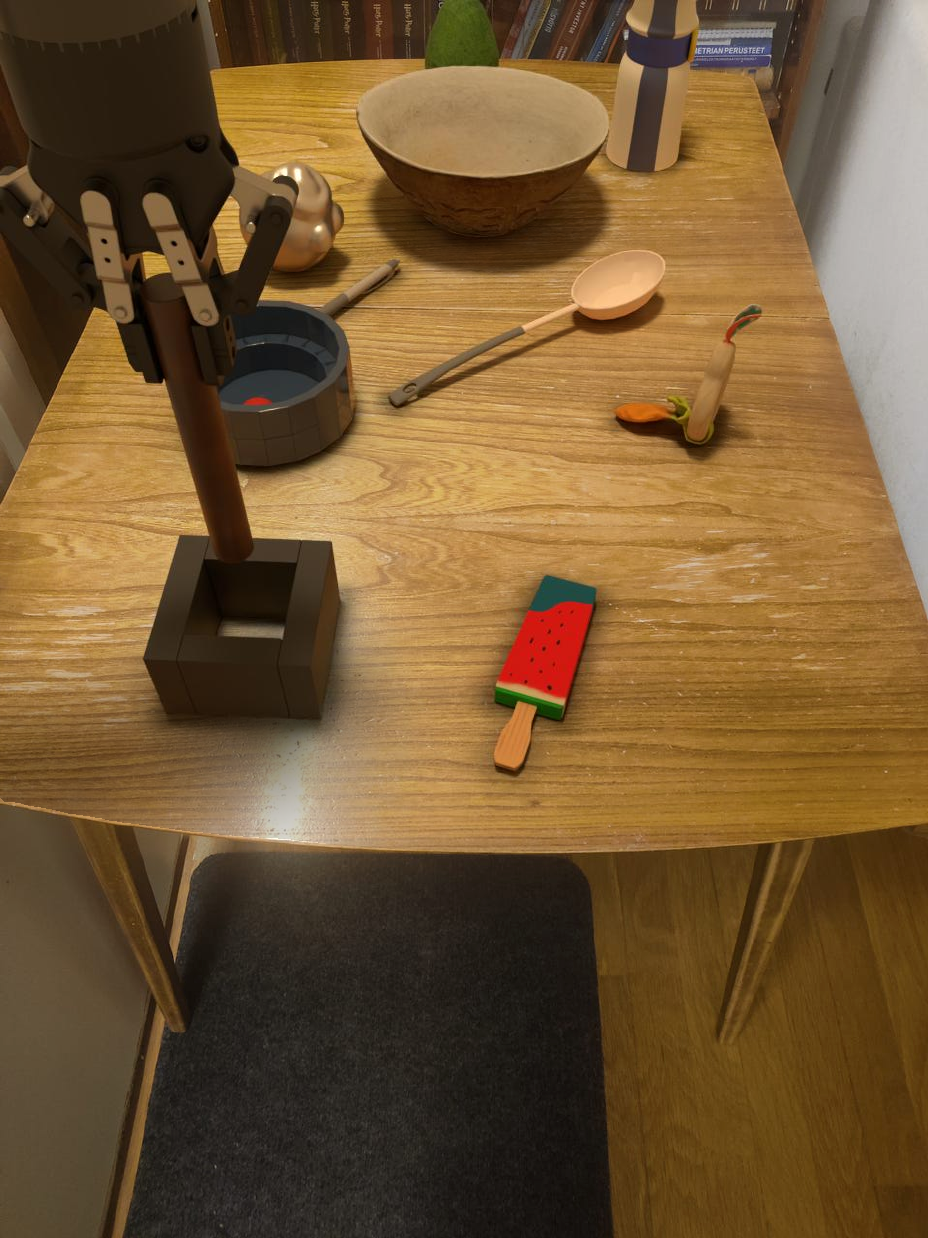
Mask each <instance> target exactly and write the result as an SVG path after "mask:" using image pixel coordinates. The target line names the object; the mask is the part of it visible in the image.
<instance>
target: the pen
mask: <svg viewBox="0 0 928 1238" xmlns="http://www.w3.org/2000/svg"><path fill="white" fill-rule="evenodd" d="M400 263H401V260H400V258H392V259H390V260H388V261H386V262H385V263H384V264H382V265H380V267H378V268H377V269H375V270H373V271H372V272H371V273H369V274H368V275H366V276H365V277H364V278H362V279H361V280H359V281H358V282H357V283H355V284H354V285H352V286H351V287H349V288H348V289H347V290H345V291H343V292H341V293H340V294H338V295H337V296H336V297H333V299H331V300H330V301H329V302H327V303H326V304H324V305H323V306H321V307H320V308H319V309H318V310H319V311H321V312H322V313H324V314H326V315H328V316H330V317H331V316H332V315H333V314H335V313H337V311H339V310H340V309H342V308H344V307H345V306H346V305H348V304H349V303H350V302H351V301H352V300H354V299H355V298H356V297H358V296H359V295H361V294H362V295H365V294H368V293H370V292H372V291H375V290H376V289H377V288H379V287H381V286H383V285H384V284H385V283H386V282H387V281H389V280H390V279H391V278H392V277H394V275H395V272H396V268H398V266H399V264H400ZM378 282H379V283H378ZM377 283H378V284H377ZM374 285H375V286H374ZM373 286H374V287H373Z"/></svg>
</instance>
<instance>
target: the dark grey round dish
mask: <svg viewBox="0 0 928 1238" xmlns="http://www.w3.org/2000/svg"><path fill="white" fill-rule="evenodd" d="M230 316H231V320H232V325H233V330H234V335H235V340H236V344H237V349H238V350H237V353H236V357H235V360H234V364H233V367H232V371H231V374H230V376H226V375H225V377H224V380H223V384H222V386H217V391H218V395H219V399H220V403H221V407H222V412H223V416H224V420H225V424H226V429H227V433H228V437H229V441H230V445H231V450H232V454H233V458H234V462H235V465H240V466H257V467H258V466H260V467H271V466H277V465H283V464H288V463H294V462H299V461H301V460H303V459H306V458H308V457H310V456H313V455H315V454H317V453H320V452H322V451H323V450H324V449H326V448H327V447H328V446H330V445H331V444H332V443H334V442H335V441H336V440H338V439H339V438H340V437H341V436H342V435H343V433H344V432H345V430H346V429H347V427H348V426H349V424H350V423H351V421H352V419H353V416H354V410H355V404H356V396H355V388H354V377H353V376H354V375H353V369H352V358H351V348H350V345H349V341H348V338H347V335H346V332H345V330H344V329H343V328H342V327H341V326H340V325H339V324H338V322H337V321H335V320H334V318H333V317H331V315H330V316H328V315H326V314H324V313H322V312H321V311H319V309H316V308H315V307H314V306H313V307H312V306H310V305H307V304H303V303H298V302H294V301H290V300H270V299H259V301H258V303H257V306H256V308H255V311H254V312H253V313H252V314H251V315H249V316H240V315H238V314H236V313H233V314H230ZM252 398H265V399H267V400H269V401H271V402H272V403H270V404H264V405H243V404H244V403H245V402H246V401H248V400H250V399H252Z"/></svg>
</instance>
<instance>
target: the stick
mask: <svg viewBox="0 0 928 1238" xmlns="http://www.w3.org/2000/svg"><path fill="white" fill-rule="evenodd" d="M139 293H140V297H141V300H142V304H143V307H144V311H145V314H146V318H147V321H148V325H149V328H150V332H151V335H152V339H153V342H154V346H155V349H156V353H157V356H158V360H159V363H160V367H161V370H162V373H163V377H164V380H163V381H164V384H165V387H166V391H167V395H168V398H169V401H170V404H171V405H170V406H171V408H172V411H173V416H174V418H175V422H176V425H177V430H178V433H179V436H180V439H181V442H182V443H181V444H182V447H183V449H184V453H185V456H186V460H187V464H188V467H189V470H190V474H191V477H192V481H193V485H194V489H195V491H196V495H197V498H198V503H199V505H200V508H201V512H202V516H203V519H204V522H205V526H206V530H207V534H208V536H209V537H210V540H211V544H212V547H213V551H214V554H215V556H216V557H217V558H218V559H219V560H220V561H222V562H225V563H238V562H241V561H244V560H246V559H247V558H248V557H249V556H250V555H251V554H252V552H253V550H254V542H253V538H254V537H253V534H252V530H251V526H250V521H249V517H248V514H247V509H246V505H245V501H244V497H243V493H242V488H241V483H240V479H239V475H238V471H237V467H236V463H235V462H234V458H233V454H232V450H231V445H230V441H229V437H228V433H227V429H226V424H225V420H224V416H223V412H222V407H221V403H220V399H219V395H218V391H217V386H207V385H206V384H205V381H204V377H203V373H202V369H201V365H200V361H199V357H198V353H197V349H196V345H195V341H194V337H193V333H192V329H191V325H192V322H193V319H194V317H193V315H192V313H191V310H190V307H189V305H188V302H187V300H186V297H185V294H184V292H183V289H182V287H181V285H177V284H176V283H175V281H174V279H173V276H172V274H171V271H169V272H161V273H160V272H159V273H157V274H154V275H151V276H150V277H147V278H146V280H145V281H144V282H143V283H142V284H141V286H140V289H139Z"/></svg>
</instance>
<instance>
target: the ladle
mask: <svg viewBox="0 0 928 1238" xmlns="http://www.w3.org/2000/svg"><path fill="white" fill-rule="evenodd" d="M666 268H667V267H666V261H665V260H664V258H663V257H662V256H661V254H659V253H657V252H655V251H652V250H646V249H632V250H631V249H629V250H624V251H620V252H616V253H613V254H610V255H607V256H605V257H603V258H601V259H599V260H597V261H595V262H594V263H592V264H591V265H589V266H588V267H586V268H584V269H583V271H582V272H581V273H579V275H578V276H577V277H576V278H575V280H574V281H573V284H572V285H571V287H570V297H571V301H572V303H571V304H569V305H567V306H564V307H563V308H560V309H558V310H555V311H553V312H551V313H548V314H546V315H543V316H541V317H540V318H537V319H535V320H533V321H530V322H528V323H526V324H523V325H519V326H517V327H515V328H513V329H510V330H508V331H506V332H504V333H501V334H499V335H497V336H495V337H492V338H490V339H488V340H486V341H484V342H482V343H479V344H477V345H476V346H473V347H471V348H469V349H467V350H466V351H464V352H462V353H460V354H458V355H456V356H454V357H452V358H450V359H449V360H447V361H444V362H442V363H440V364H439V365H437V366H434V367H433V368H431V369H430V370H428V371H426V372H424V373H422V374H420V375H418V376H416V377H415V378H413V379H411V380H409V381H408V382H406V383H404V384H403V385H402V386H399V387H397V389H395V390H393V391H392V392H390V393H389V394H388V395H387V398H388V399H389V401H390V402H391V403H392V404H393V405H394V406H395V407H398V406H400V405H402V404H403V403H404V402H406V401H408V400H410V399H411V398H412V397H413V396H415V395H418V394H419V393H420V392H422V391H423V390H425V389H426V388H428V387H429V386H430V385H432V384H433V383H435V382H436V381H438V380H439V379H441V378H442V377H443V376H446V375H447V374H448V373H450V372H451V371H453V370H455V369H457V368H458V367H460V366H461V365H464V364H465V363H467V362H469V361H471V360H473V359H476V358H477V357H478V356H481V355H482V354H485V353H486V352H489V351H491V350H492V349H495V348H496V347H498V346H500V345H503V344H506V343H507V342H509V341H511V340H514V339H516V338H518V337H520V336H522V335H524V334H526V333H529V332H530V331H534V330H535V329H537V328H540V327H541V326H545V325H547V324H549V323H551V322H553V321H555V320H557V319H560V318H562V317H565V316H567V315H569V314H571V313H574V312H576V311H577V312H579V313H580V314H582V315H584V316H586V317H588V318H589V319H592V320H599V321H604V320H605V321H606V320H614V319H617V318H618V319H619V318H621V317H624V316H627V315H629V314H631V313H633V312H636V311H637V310H638V309H640V308H641V307H642V306H645V304H647V303H648V301H649V300H650V299H651V298H652V297H653V296H654V295H655V293H656V292H657V291H658V290H659V289H660V286H661V284H662V282H663V280H664V277H665V273H666ZM410 387H415V388H414V390H412V391H410V392H405V390H407V389H408V388H410Z"/></svg>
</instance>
